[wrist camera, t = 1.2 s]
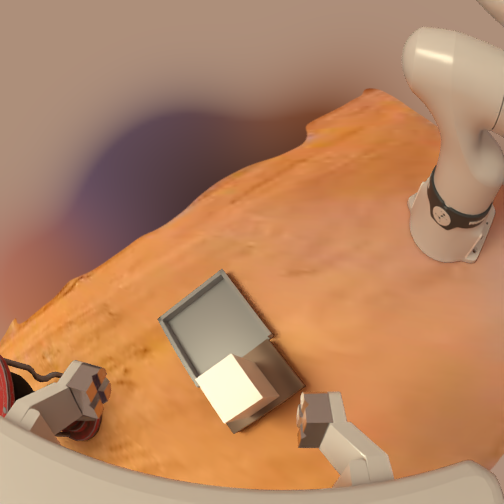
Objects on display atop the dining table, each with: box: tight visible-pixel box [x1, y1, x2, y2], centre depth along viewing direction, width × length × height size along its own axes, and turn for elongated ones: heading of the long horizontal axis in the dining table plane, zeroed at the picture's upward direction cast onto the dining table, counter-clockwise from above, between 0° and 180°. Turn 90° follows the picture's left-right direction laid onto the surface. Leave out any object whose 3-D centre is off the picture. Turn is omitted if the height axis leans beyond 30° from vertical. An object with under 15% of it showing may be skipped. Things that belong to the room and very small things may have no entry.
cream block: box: [195, 353, 279, 423], centre depth 40 cm, size 6×7×12 cm
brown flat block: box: [226, 339, 305, 434], centre depth 47 cm, size 14×10×3 cm
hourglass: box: [0, 355, 101, 441], centre depth 43 cm, size 16×16×25 cm
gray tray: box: [158, 269, 273, 388], centre depth 54 cm, size 16×16×2 cm
